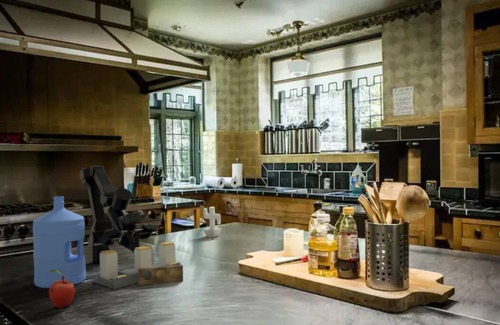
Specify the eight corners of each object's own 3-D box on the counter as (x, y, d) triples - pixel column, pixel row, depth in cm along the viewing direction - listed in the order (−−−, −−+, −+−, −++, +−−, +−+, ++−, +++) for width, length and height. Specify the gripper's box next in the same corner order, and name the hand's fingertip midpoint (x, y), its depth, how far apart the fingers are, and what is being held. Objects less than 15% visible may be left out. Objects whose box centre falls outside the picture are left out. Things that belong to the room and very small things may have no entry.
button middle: (134, 273, 142) (134, 247, 142) (144, 270, 145) (144, 245, 145) (141, 275, 139) (140, 249, 139) (151, 272, 142) (151, 247, 142)
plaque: (138, 285, 134) (138, 269, 134) (138, 283, 135) (138, 268, 135) (183, 281, 137) (182, 265, 137) (182, 280, 138) (182, 264, 138)
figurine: (217, 237, 212) (216, 208, 212) (201, 236, 216) (200, 207, 216) (224, 235, 219) (223, 206, 219) (208, 234, 223) (207, 205, 223)
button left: (100, 277, 137) (99, 251, 137) (111, 275, 140) (110, 249, 140) (106, 280, 135) (106, 253, 135) (117, 277, 138) (117, 250, 138)
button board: (93, 281, 138) (93, 271, 138) (159, 265, 158) (158, 257, 158) (114, 289, 130) (113, 278, 130) (180, 271, 150) (180, 261, 150)
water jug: (29, 291, 130) (26, 200, 130) (39, 277, 145) (37, 196, 145) (83, 286, 134) (81, 197, 134) (88, 273, 149) (86, 194, 149)
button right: (159, 267, 149) (158, 243, 149) (168, 265, 152) (168, 241, 152) (166, 269, 147) (165, 244, 147) (175, 266, 150) (175, 242, 150)
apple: (80, 301, 119) (79, 266, 119) (70, 310, 112) (69, 272, 112) (52, 302, 119) (51, 267, 118) (41, 311, 112) (40, 273, 112)
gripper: (103, 206, 140) (123, 243, 133) (151, 201, 154) (170, 234, 147) (92, 227, 145) (110, 264, 138) (139, 221, 159) (157, 254, 152)
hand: (138, 253), depth 144 cm, fingers closed, pressing on button middle
